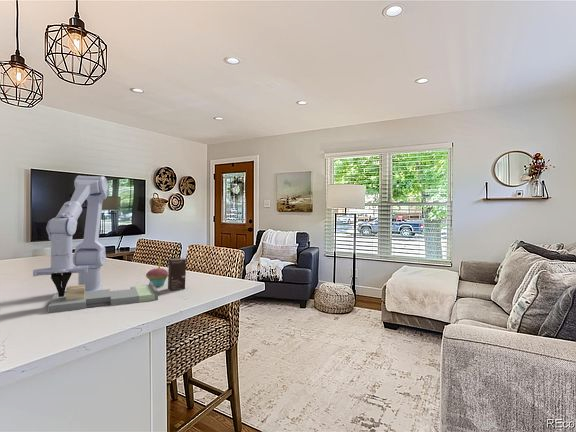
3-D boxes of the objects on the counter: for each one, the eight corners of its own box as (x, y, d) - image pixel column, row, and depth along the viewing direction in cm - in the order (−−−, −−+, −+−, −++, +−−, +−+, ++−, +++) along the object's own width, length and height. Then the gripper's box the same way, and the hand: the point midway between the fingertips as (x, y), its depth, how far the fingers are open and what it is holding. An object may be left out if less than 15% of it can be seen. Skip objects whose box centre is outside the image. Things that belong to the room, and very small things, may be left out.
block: (67, 296, 107) (67, 286, 107) (85, 294, 110) (85, 284, 110) (66, 300, 103) (66, 289, 103) (84, 298, 105) (84, 287, 105)
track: (54, 300, 109) (54, 290, 109) (151, 290, 125) (151, 281, 125) (48, 312, 96) (48, 302, 96) (157, 299, 112) (158, 290, 112)
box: (170, 290, 125) (170, 260, 124) (167, 288, 128) (168, 258, 128) (186, 289, 128) (186, 259, 128) (182, 286, 132) (183, 257, 131)
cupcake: (172, 285, 134) (172, 256, 134) (154, 289, 127) (154, 259, 127) (159, 282, 139) (160, 254, 138) (141, 286, 131) (141, 257, 131)
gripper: (31, 257, 97) (30, 302, 97) (87, 254, 104) (87, 296, 104) (35, 254, 103) (35, 296, 103) (88, 252, 110) (87, 291, 111)
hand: (61, 296), depth 104 cm, fingers closed
